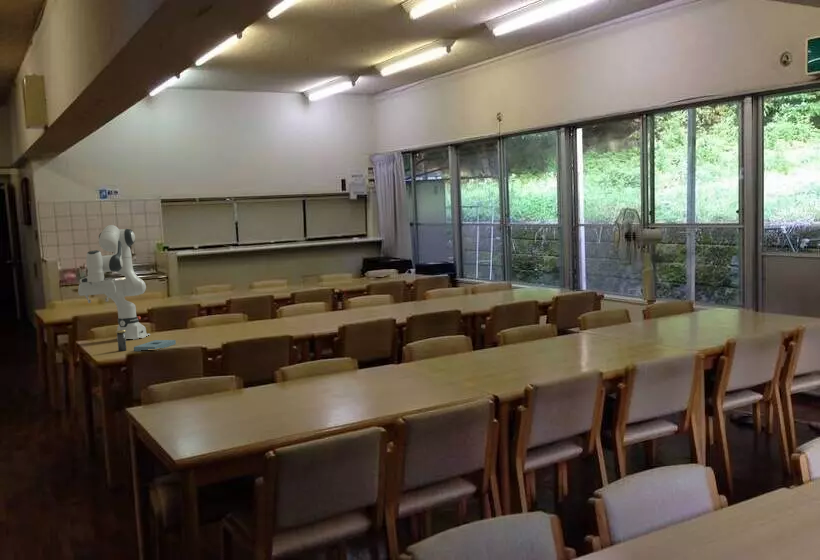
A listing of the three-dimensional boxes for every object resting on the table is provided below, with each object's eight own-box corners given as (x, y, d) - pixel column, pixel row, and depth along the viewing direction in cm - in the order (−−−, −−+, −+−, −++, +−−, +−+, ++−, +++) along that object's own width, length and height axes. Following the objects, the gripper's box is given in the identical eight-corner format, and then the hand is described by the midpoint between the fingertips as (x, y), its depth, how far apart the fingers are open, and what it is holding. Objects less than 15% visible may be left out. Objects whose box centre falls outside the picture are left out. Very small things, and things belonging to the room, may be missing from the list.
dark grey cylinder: (121, 349, 432) (119, 329, 430) (129, 349, 430) (127, 329, 429) (115, 351, 426) (113, 331, 425) (123, 351, 425) (121, 331, 424)
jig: (155, 344, 445) (154, 340, 445) (175, 343, 442) (175, 339, 442) (133, 351, 424) (133, 346, 424) (155, 350, 421) (154, 346, 421)
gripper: (115, 276, 428) (117, 300, 429) (78, 279, 422) (80, 303, 423) (114, 277, 422) (116, 301, 423) (76, 280, 416) (78, 304, 417)
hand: (98, 302), depth 423 cm, fingers open, 8 cm apart
